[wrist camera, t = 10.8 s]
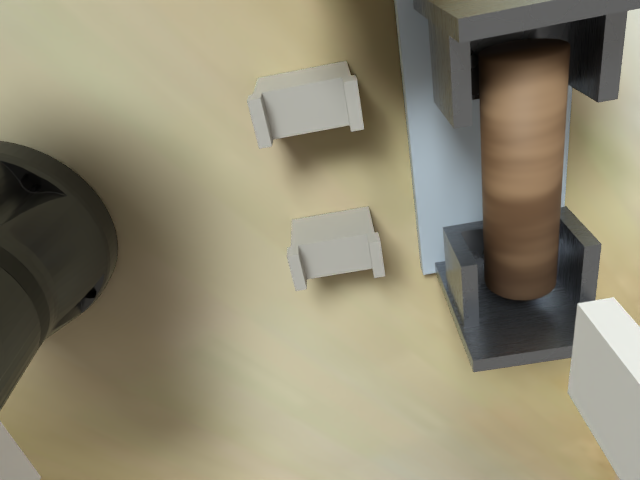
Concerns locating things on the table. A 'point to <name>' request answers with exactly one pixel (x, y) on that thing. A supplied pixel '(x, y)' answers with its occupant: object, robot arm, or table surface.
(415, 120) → the wall board
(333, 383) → the table surface
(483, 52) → the brown cylinder
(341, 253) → the rest blocks
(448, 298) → the brackets
